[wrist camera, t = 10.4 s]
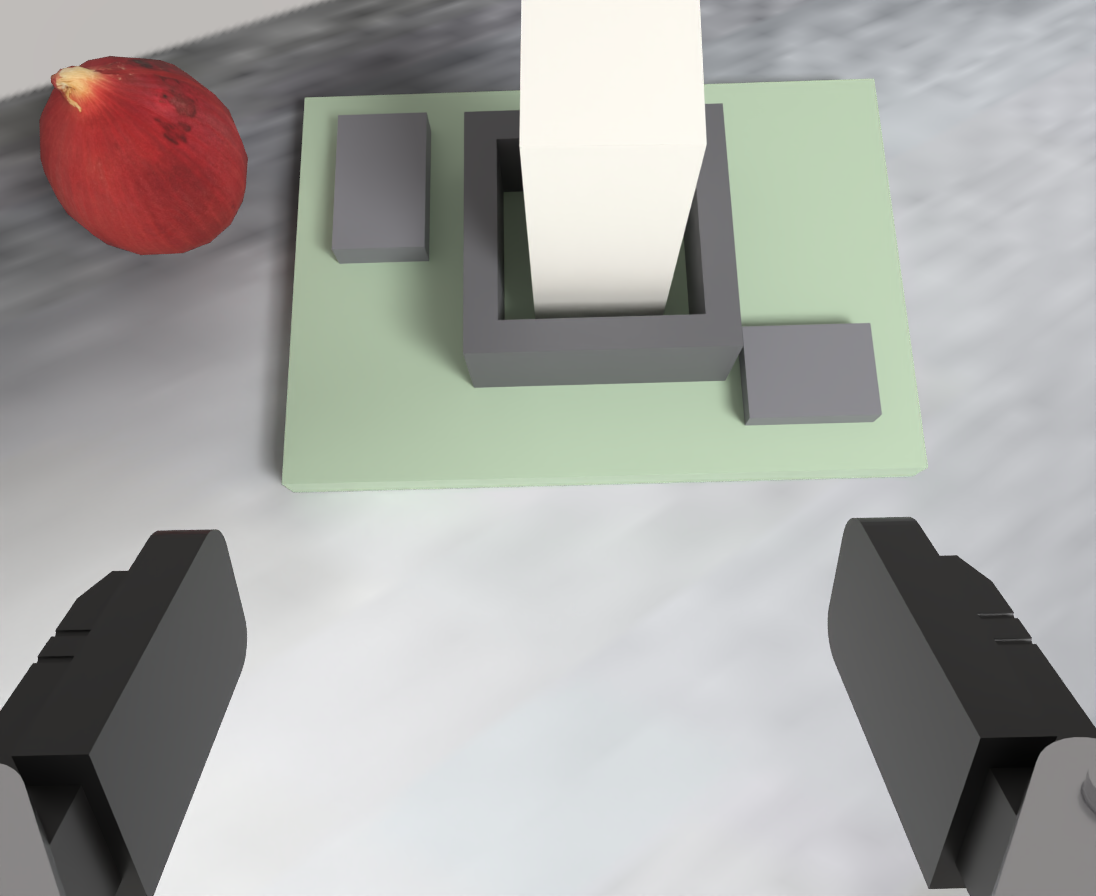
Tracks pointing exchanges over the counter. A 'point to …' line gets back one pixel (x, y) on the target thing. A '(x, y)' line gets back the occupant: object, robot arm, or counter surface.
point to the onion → (142, 154)
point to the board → (596, 342)
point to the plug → (608, 150)
